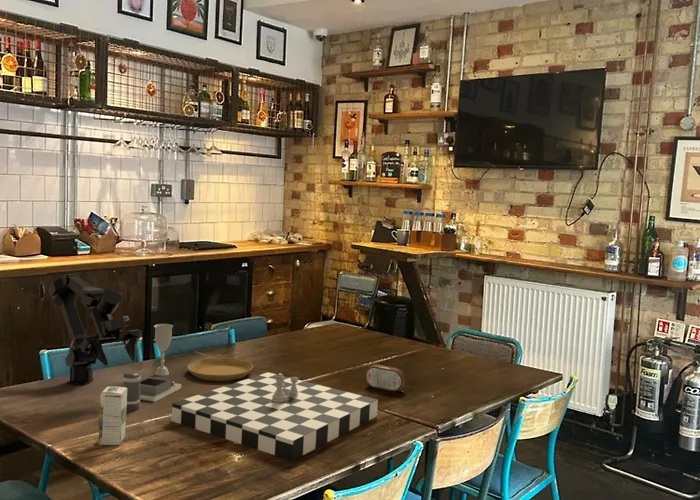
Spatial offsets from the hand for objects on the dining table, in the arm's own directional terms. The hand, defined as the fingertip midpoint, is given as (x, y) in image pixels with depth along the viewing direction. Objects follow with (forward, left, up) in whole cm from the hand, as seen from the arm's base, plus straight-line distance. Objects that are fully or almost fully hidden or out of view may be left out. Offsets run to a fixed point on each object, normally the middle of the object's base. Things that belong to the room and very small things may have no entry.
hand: (120, 362), depth 210 cm
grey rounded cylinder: (+6, -4, -13) cm, 15 cm away
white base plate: (+6, +12, -13) cm, 19 cm away
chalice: (0, +34, -13) cm, 36 cm away
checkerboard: (+52, 0, -14) cm, 54 cm away
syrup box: (+13, -30, -13) cm, 35 cm away
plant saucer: (+20, +41, -13) cm, 47 cm away
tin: (+82, +41, -13) cm, 92 cm away
